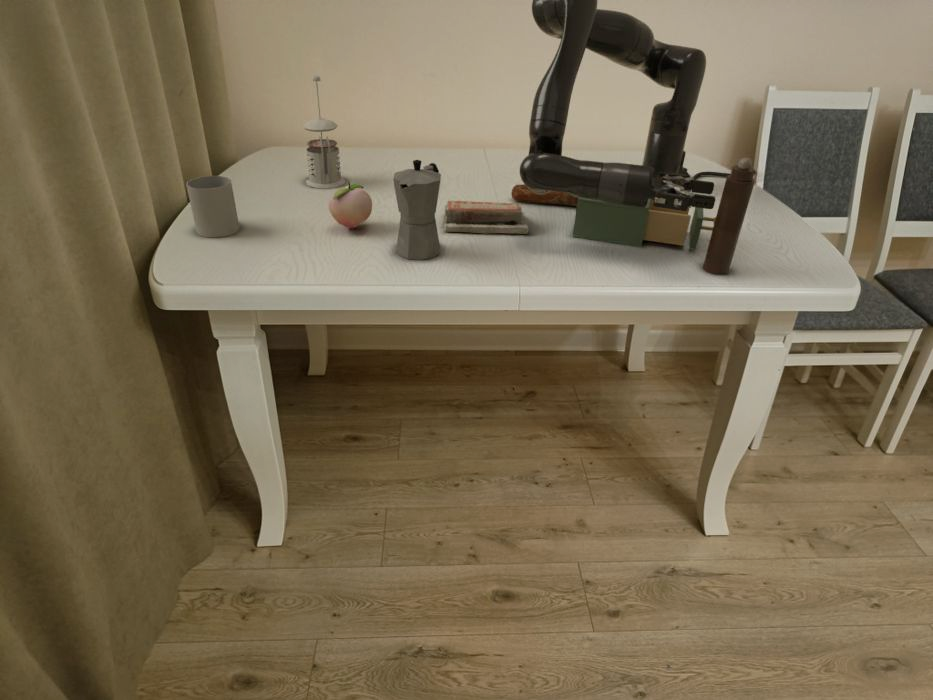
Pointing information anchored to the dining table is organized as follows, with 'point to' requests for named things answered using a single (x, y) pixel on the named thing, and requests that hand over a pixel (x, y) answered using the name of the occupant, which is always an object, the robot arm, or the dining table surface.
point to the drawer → (674, 225)
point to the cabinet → (610, 221)
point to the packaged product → (484, 217)
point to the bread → (543, 196)
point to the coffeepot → (417, 211)
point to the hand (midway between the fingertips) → (713, 195)
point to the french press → (323, 154)
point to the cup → (213, 206)
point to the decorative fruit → (350, 205)
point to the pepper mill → (730, 218)
